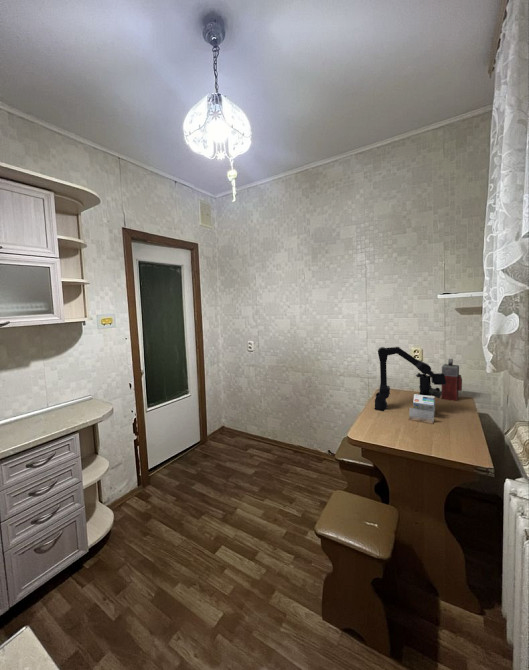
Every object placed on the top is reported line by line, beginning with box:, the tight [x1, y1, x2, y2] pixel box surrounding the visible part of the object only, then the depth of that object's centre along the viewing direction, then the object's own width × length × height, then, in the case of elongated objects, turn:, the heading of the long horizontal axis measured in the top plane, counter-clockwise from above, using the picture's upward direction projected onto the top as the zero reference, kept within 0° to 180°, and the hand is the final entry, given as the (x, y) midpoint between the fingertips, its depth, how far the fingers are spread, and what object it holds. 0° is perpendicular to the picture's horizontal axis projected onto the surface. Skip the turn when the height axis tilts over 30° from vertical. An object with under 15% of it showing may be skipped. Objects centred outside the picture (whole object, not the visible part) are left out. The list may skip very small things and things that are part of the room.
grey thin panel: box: [408, 407, 435, 423], centre depth 159 cm, size 12×1×6 cm, turn 55°
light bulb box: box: [412, 393, 436, 415], centre depth 165 cm, size 11×7×11 cm
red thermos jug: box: [440, 358, 463, 402], centre depth 192 cm, size 9×11×28 cm
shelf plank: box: [408, 418, 435, 425], centre depth 157 cm, size 12×3×1 cm, turn 55°
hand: (425, 409), depth 171 cm, fingers closed, pressing on light bulb box
